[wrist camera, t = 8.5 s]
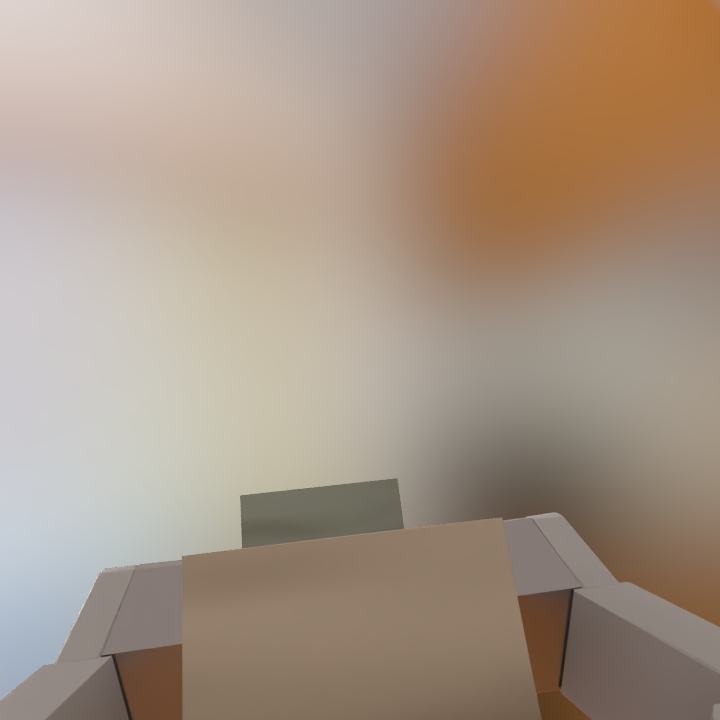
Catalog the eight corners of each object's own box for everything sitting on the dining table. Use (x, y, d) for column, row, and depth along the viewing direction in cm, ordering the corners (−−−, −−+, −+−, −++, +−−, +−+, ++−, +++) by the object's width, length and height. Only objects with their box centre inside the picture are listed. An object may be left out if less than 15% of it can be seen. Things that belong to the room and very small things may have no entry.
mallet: (708, 719, 6) (596, 327, 8) (-24, 848, 5) (25, 372, 7) (391, 573, 31) (381, 490, 33) (260, 590, 30) (255, 504, 32)
